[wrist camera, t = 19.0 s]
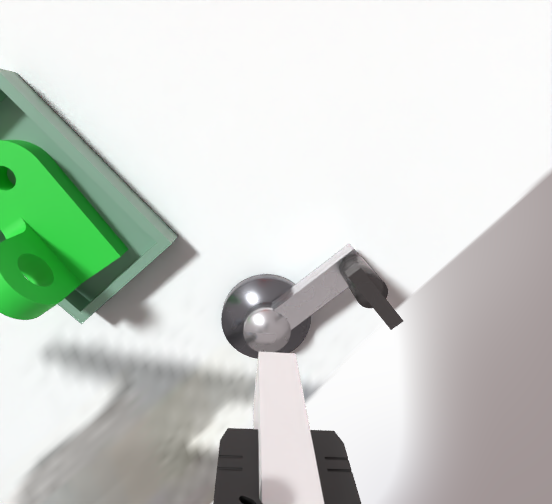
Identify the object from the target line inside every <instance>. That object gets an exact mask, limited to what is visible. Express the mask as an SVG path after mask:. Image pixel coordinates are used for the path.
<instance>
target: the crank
mask: <svg viewBox="0 0 552 504" xmlns="http://www.w3.org/2000/svg"><path fill="white" fill-rule="evenodd" d="M348 287H349V288H350V290H351V291H352V293H353V295H354V296H355V298H356V300H357V301H358V303H359V304H360V305H362V306H363V307H366V308H374V309H375V311H376V312H377V313H378V314H379V316H380V317H381V318H382V319H383V320H384V322H385V323H386V324H387V325H388V327H389V328H390V329H391V330H392V329H393V328H394V327H395V326H397V325H399V324H400V323H401V322H403V320H402V319H401V317H400V316H399V315H398V314H397V312H396V311H395V310H394V309H393V307H392V306H391V305H390V304H389V302H388V301H387V300H386V298H387V295H388V289H387V286H386V284H385V283H384V282H383V281H382V280H381V278H380V277H379V276H378V275H377V274H376V273H375V271H374V270H373V269H372V268H371V267H370V266H369V265H368V263H367V262H366V261H365V260H364V259H363V258H362V257H361V256H359V255H358V253H357V252H356V251H355V249H354V248H353V247H352V246H351V245H350V244H347V245H346V246H345V247H344V248H342V249H341V250H340V251H338V252H337V253H336V254H334V255H333V256H332V257H331V258H329V259H328V260H327V261H325V262H324V263H323V264H321V265H320V266H319V267H318V268H316V269H315V270H314V271H312V272H311V273H310V274H309V275H307V276H306V277H305V278H303V279H302V280H301V281H299V282H298V283H297V284H296V285H294V286H293V287H292V288H290V289H289V290H288V291H286V292H285V293H284V294H283V295H281V296H280V297H279V298H277V299H276V300H275V301H273V302H272V303H270V302H263V303H259V304H257V305H255V306H253V307H252V308H251V309H249V311H248V312H247V313H246V315H245V318H244V331H243V334H244V339H245V341H246V343H247V344H248V345H249V347H251V348H252V349H253V350H255V351H258V352H275V351H278V350H280V349H281V348H283V347H284V346H285V345H286V344H287V342H288V340H289V338H290V334H291V330H292V329H293V328H294V327H296V326H297V325H298V324H300V323H301V322H302V321H304V320H305V319H306V318H308V317H309V316H311V315H312V314H313V313H315V312H316V311H317V310H319V309H320V308H321V307H323V306H324V305H325V304H327V303H328V302H329V301H331V300H332V299H333V298H335V297H336V296H337V295H339V294H340V293H341V292H343V291H344V290H345V289H347V288H348Z"/></svg>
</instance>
